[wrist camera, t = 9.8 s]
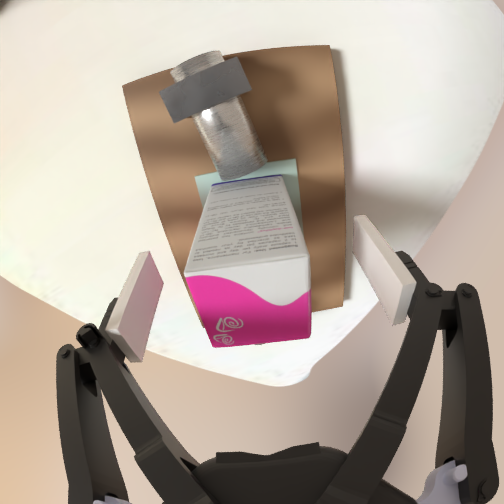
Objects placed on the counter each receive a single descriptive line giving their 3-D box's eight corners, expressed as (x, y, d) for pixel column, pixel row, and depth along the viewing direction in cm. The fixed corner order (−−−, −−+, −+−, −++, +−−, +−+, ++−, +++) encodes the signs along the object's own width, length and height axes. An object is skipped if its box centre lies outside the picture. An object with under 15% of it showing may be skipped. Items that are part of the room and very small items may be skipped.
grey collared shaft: (167, 79, 17) (151, 77, 13) (232, 51, 16) (230, 41, 12) (213, 175, 21) (207, 191, 18) (275, 150, 20) (281, 162, 17)
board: (127, 85, 17) (121, 85, 16) (325, 47, 16) (330, 44, 15) (204, 320, 31) (203, 329, 30) (340, 299, 30) (343, 307, 29)
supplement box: (208, 183, 21) (179, 271, 12) (282, 172, 21) (318, 252, 11) (222, 245, 24) (211, 352, 15) (289, 235, 24) (317, 339, 14)
